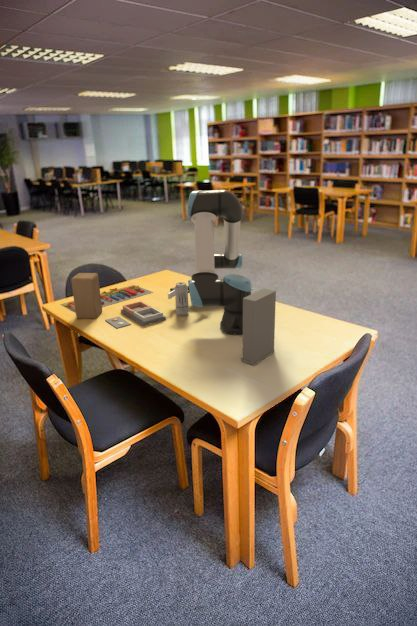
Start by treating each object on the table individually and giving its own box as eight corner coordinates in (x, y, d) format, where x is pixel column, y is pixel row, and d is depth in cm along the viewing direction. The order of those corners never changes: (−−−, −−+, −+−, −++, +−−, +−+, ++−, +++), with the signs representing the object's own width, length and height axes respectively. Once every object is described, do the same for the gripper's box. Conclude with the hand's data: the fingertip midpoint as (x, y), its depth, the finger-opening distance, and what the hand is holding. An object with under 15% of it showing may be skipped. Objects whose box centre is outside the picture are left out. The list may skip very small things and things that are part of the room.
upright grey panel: (261, 348, 173) (262, 288, 164) (274, 352, 170) (276, 291, 161) (240, 361, 164) (240, 297, 154) (254, 366, 160) (255, 301, 151)
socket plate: (165, 319, 204) (165, 312, 203) (142, 325, 197) (142, 318, 196) (142, 306, 221) (142, 300, 219) (121, 312, 214) (120, 305, 213)
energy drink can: (177, 316, 207) (175, 286, 202) (175, 312, 213) (173, 282, 207) (189, 315, 208) (188, 285, 203) (187, 311, 214) (186, 281, 208)
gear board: (133, 281, 254) (153, 289, 241) (133, 285, 255) (153, 293, 242) (59, 301, 226) (77, 310, 213) (60, 305, 227) (78, 315, 214)
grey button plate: (130, 324, 199) (130, 323, 199) (116, 328, 195) (116, 327, 195) (119, 317, 208) (118, 315, 208) (105, 320, 204) (105, 319, 204)
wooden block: (103, 311, 216) (98, 272, 208) (96, 319, 206) (91, 278, 199) (83, 311, 217) (78, 272, 209) (75, 319, 207) (69, 278, 200)
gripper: (222, 294, 223) (205, 308, 204) (178, 289, 232) (158, 302, 214) (222, 280, 220) (205, 293, 202) (178, 275, 229) (157, 287, 211)
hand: (181, 298), depth 208 cm, fingers open, 13 cm apart
